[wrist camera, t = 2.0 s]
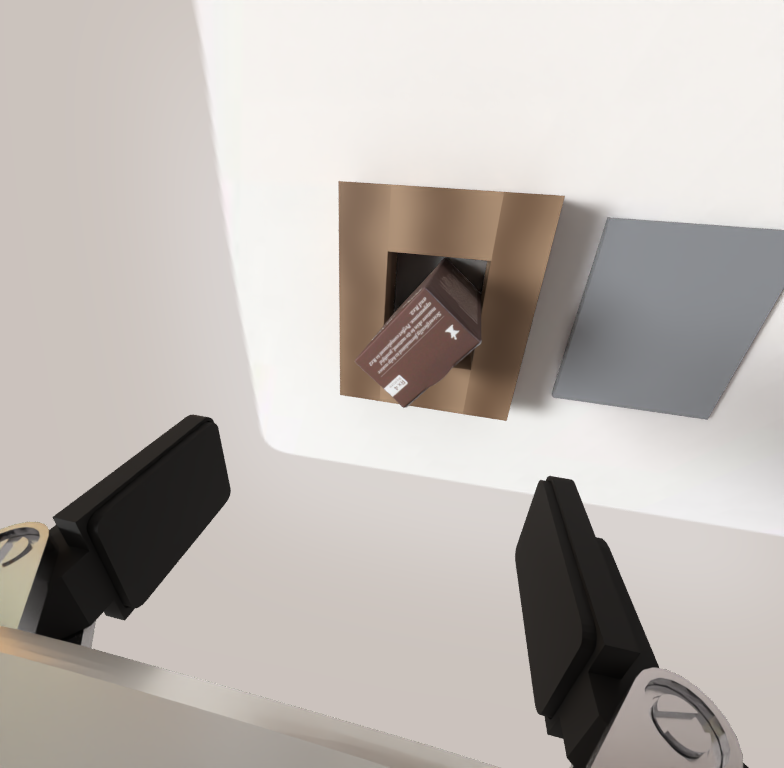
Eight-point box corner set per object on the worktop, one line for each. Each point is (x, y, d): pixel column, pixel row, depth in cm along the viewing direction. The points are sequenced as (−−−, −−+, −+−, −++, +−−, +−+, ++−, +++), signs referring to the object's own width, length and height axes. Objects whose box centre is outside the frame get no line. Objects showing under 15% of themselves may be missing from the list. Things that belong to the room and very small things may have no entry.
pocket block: (551, 197, 24) (564, 195, 21) (502, 396, 32) (506, 420, 28) (356, 184, 26) (338, 181, 23) (353, 375, 34) (340, 394, 30)
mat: (807, 232, 22) (815, 232, 22) (703, 415, 29) (707, 419, 28) (607, 217, 24) (610, 217, 24) (551, 394, 31) (553, 397, 30)
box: (442, 253, 27) (425, 283, 17) (482, 293, 28) (490, 347, 18) (392, 307, 30) (350, 363, 19) (429, 343, 31) (408, 415, 20)
